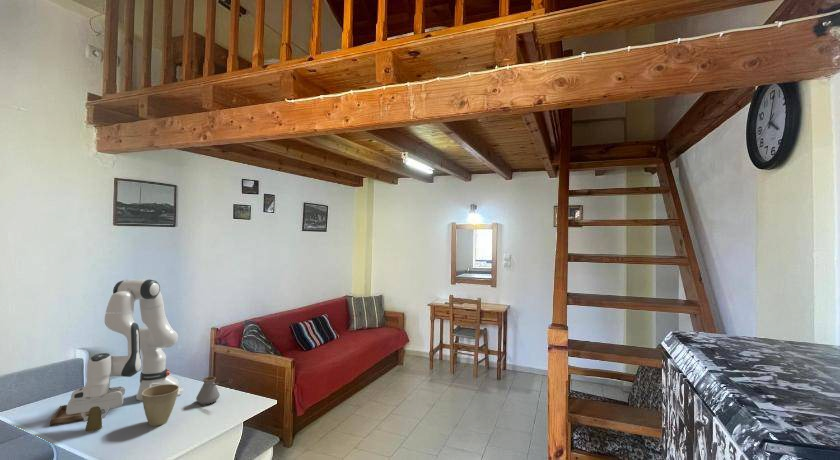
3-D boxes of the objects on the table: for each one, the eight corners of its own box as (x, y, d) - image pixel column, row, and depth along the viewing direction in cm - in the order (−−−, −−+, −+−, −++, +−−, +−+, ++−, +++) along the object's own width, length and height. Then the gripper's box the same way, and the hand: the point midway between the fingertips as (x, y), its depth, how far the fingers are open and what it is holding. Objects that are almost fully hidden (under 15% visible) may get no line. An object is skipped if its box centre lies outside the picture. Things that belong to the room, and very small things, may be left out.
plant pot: (139, 420, 178) (142, 387, 179) (175, 413, 187) (177, 382, 188) (138, 433, 166) (141, 398, 167) (177, 425, 175) (179, 391, 176)
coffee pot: (190, 404, 198) (192, 376, 199) (208, 396, 209) (210, 370, 210) (220, 410, 192) (222, 382, 193) (237, 402, 203) (239, 375, 204)
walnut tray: (103, 405, 192) (104, 399, 192) (97, 418, 178) (97, 412, 178) (59, 411, 183) (60, 405, 183) (49, 426, 169) (50, 419, 169)
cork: (91, 432, 165) (94, 408, 166) (81, 430, 166) (83, 406, 167) (105, 426, 171) (107, 402, 172) (95, 424, 172) (97, 401, 173)
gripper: (126, 383, 178) (123, 412, 177) (70, 391, 167) (67, 421, 166) (124, 388, 173) (121, 417, 172) (66, 396, 162) (63, 427, 161)
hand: (94, 419), depth 169 cm, fingers closed on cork, 5 cm apart
